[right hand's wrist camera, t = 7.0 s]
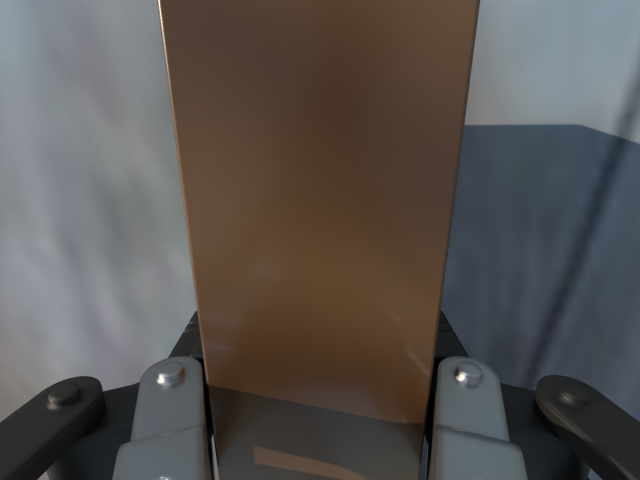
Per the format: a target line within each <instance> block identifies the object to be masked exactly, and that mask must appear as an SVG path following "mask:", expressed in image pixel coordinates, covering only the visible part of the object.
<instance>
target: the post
mask: <svg viewBox="0 0 640 480" xmlns="http://www.w3.org/2000/svg"><path fill="white" fill-rule="evenodd" d="M157 4H158V12H159V19H160V27H161V35H162V42H163V50H164V58H165V65H166V73H167V81H168V89H169V96H170V104H171V112H172V119H173V127H174V135H175V142H176V150H177V158H178V166H179V173H180V181H181V189H182V196H183V204H184V212H185V219H186V227H187V235H188V242H189V250H190V258H191V266H192V273H193V281H194V289H195V296H196V304H197V312H198V319H199V327H200V335H201V343H202V350H203V358H204V366H205V373H206V381H207V389H208V396H209V404H210V412H211V420H212V427H213V435H214V443H215V450H216V458H217V466H218V473H219V480H419V472H420V464H421V457H422V449H423V441H424V433H425V425H426V418H427V410H428V402H429V394H430V387H431V379H432V371H433V363H434V356H435V348H436V340H437V332H438V324H439V317H440V309H441V301H442V293H443V286H444V278H445V270H446V262H447V254H448V247H449V239H450V231H451V223H452V216H453V208H454V200H455V192H456V185H457V177H458V169H459V161H460V153H461V146H462V138H463V130H464V122H465V115H466V107H467V99H468V91H469V84H470V76H471V68H472V60H473V52H474V45H475V37H476V29H477V21H478V14H479V6H480V0H157Z"/></svg>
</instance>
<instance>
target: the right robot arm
mask: <svg viewBox="0 0 640 480" xmlns="http://www.w3.org/2000/svg"><path fill="white" fill-rule="evenodd" d="M424 434H425V437H426V440H427V443H428V447H427V457H426V470H425V480H590V479H589V478H588V474H589V471H590V468H591V469H592V470H593V471H595V472H596V473H597V474H598V475H599V476H600V477H601V478H602V479H603V480H640V422H638V421H637V420H636V419H634V418H633V417H632V416H630V415H629V414H628V413H626V412H625V411H624V410H622V409H621V408H620V407H618V406H617V405H616V404H614V403H613V402H612V401H610V400H609V399H608V398H606V397H605V396H603V395H602V394H601V393H599V392H598V391H597V390H595V389H594V388H592V387H591V386H589V385H587V384H585V383H583V382H581V381H579V380H576V379H573V378H570V377H565V376H559V375H550V376H545V377H543V378H541V379H540V380H539V381H538V383H537V387H536V391H532V390H528V389H523V388H519V387H514V386H510V385H506V384H503V383H500V380H499V377H498V376H497V374H496V373H495V371H494V370H493V369H492V368H490V367H489V366H488V365H486V364H484V363H483V362H481V361H478V360H476V359H473V358H469V356H468V354H467V353H466V351H465V349H464V348H463V346H462V344H461V342H460V341H459V339H458V337H457V336H456V334H455V332H453V329H452V327H451V325H450V324H449V323H448V320H447V319H446V317H445V315H444V313H443V312H442V311H441V310H440V317H439V324H438V332H437V340H436V348H435V356H434V363H433V371H432V379H431V387H430V394H429V402H428V410H427V418H426V425H425V433H424ZM212 435H213V427H212V420H211V412H210V404H209V396H208V389H207V381H206V373H205V366H204V358H203V350H202V343H201V335H200V327H199V319H198V312H197V311H196V312H195V313H194V315H193V317H192V318H191V320H190V322H189V324H188V325H187V327H186V328H185V332H183V334H182V335H181V337H180V339H179V340H178V342H177V344H176V345H175V347H174V349H173V350H172V352H171V354H170V355H169V357H168V358H167V359H164V360H162V361H159V362H157V363H156V364H154V365H152V366H151V367H150V368H148V369H147V370H146V371H145V373H144V374H143V375H142V377H141V380H140V382H139V383H136V384H133V385H130V386H126V387H121V388H117V389H112V390H108V391H103V389H102V385H101V383H100V381H99V380H97V379H96V378H93V377H88V376H80V377H74V378H69V379H66V380H63V381H60V382H58V383H56V384H54V385H52V386H50V387H48V388H46V389H45V390H43V391H42V392H41V393H39V394H38V395H37V396H35V397H34V398H32V399H31V400H30V401H28V402H27V403H26V404H24V405H23V406H22V407H20V408H19V409H18V410H16V411H15V412H14V413H12V414H11V415H10V416H8V417H7V418H6V419H4V420H3V421H2V422H0V480H37V479H38V478H39V477H40V476H41V475H42V474H43V473H44V472H45V471H47V474H48V477H49V480H215V471H214V458H213V448H212V440H211V439H212Z"/></svg>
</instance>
